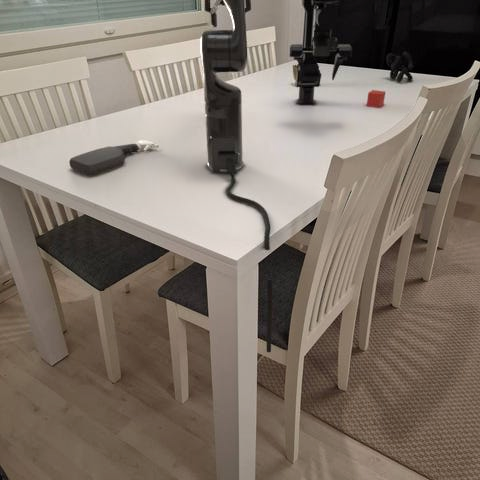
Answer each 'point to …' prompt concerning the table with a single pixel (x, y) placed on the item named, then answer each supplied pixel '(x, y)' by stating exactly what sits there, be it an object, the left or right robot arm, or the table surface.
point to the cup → (295, 71)
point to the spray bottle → (106, 157)
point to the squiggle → (399, 66)
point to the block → (376, 98)
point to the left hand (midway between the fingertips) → (228, 26)
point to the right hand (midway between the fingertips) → (318, 79)
